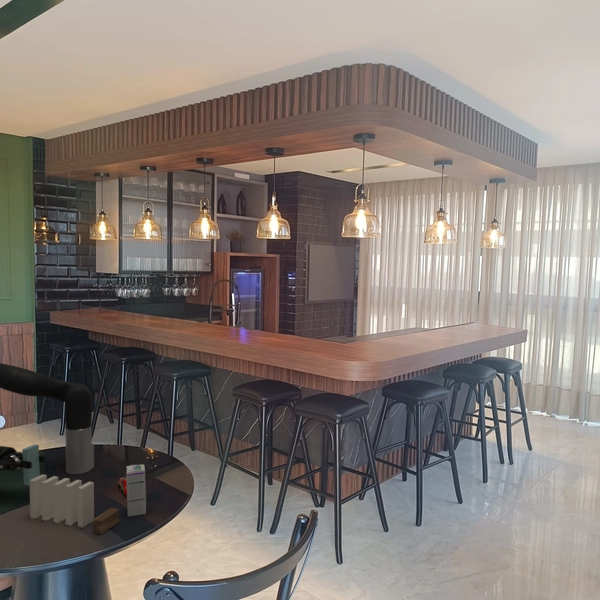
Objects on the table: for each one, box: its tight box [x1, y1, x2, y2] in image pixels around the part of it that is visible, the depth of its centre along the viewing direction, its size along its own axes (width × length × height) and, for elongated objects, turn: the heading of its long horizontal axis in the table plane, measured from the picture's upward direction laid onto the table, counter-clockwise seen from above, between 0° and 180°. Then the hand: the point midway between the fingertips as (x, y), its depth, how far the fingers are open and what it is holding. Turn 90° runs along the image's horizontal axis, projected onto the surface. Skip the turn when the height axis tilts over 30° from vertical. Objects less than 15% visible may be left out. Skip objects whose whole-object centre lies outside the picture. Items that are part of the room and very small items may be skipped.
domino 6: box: [77, 481, 95, 528], centre depth 154 cm, size 2×5×12 cm, turn 163°
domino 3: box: [41, 475, 59, 522], centre depth 158 cm, size 2×5×12 cm, turn 163°
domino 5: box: [65, 479, 83, 526], centre depth 156 cm, size 2×5×12 cm, turn 163°
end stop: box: [92, 507, 120, 535], centre depth 152 cm, size 3×8×4 cm, turn 163°
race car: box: [117, 476, 127, 498], centre depth 179 cm, size 13×5×4 cm, turn 32°
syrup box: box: [125, 463, 147, 517], centre depth 162 cm, size 6×6×14 cm
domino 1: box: [21, 444, 41, 486], centre depth 170 cm, size 2×5×12 cm, turn 163°
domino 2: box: [29, 473, 48, 520], centre depth 160 cm, size 2×5×12 cm, turn 163°
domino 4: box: [53, 477, 71, 524], centre depth 157 cm, size 2×5×12 cm, turn 163°
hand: (37, 462), depth 169 cm, fingers closed on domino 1, 5 cm apart
